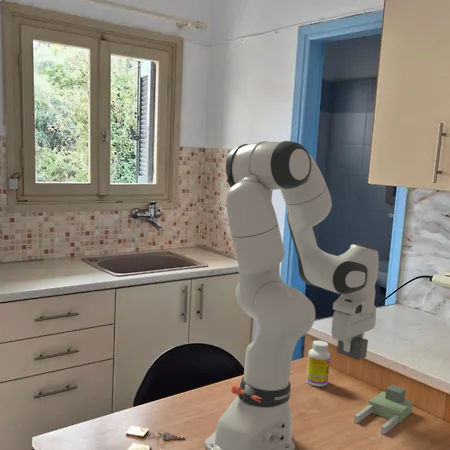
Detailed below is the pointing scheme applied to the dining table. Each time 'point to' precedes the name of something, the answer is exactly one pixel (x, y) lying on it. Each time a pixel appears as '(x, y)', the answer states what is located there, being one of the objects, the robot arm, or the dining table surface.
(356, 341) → the grey rectangular block
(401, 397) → the two-prong power plug
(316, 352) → the supplement bottle
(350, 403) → the dining table surface
